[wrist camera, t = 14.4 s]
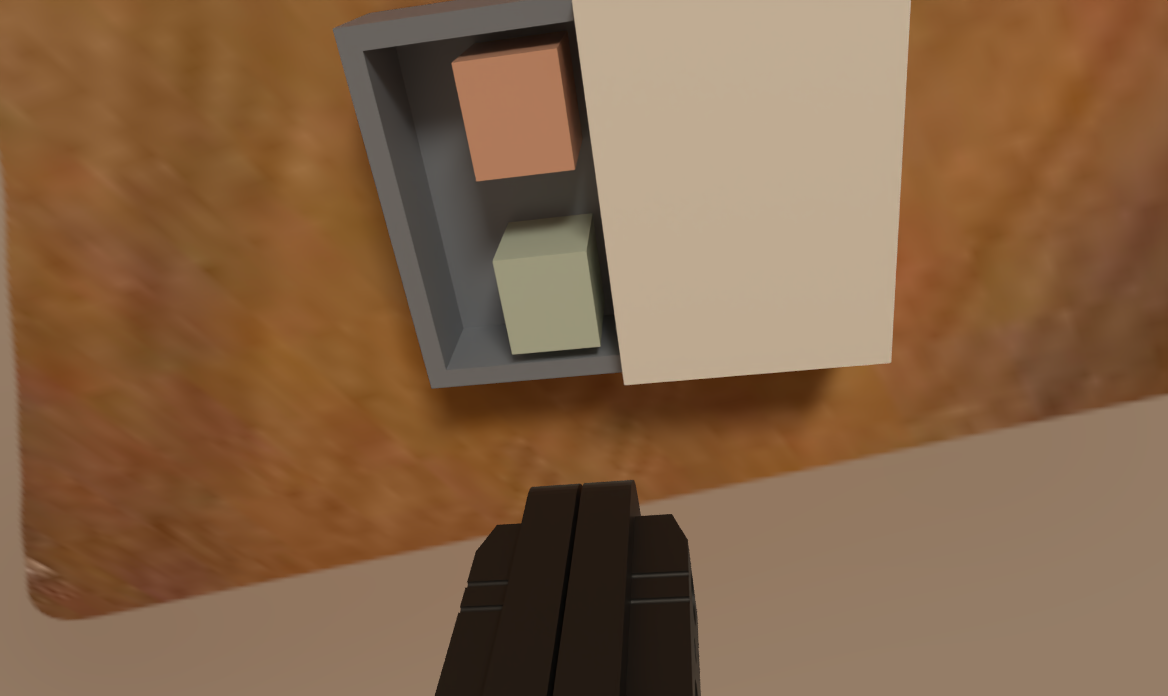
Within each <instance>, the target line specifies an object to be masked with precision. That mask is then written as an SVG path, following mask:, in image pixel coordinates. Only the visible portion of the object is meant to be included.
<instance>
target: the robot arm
mask: <svg viewBox="0 0 1168 696" xmlns="http://www.w3.org/2000/svg"><path fill="white" fill-rule="evenodd" d="M467 582H468V587H467V588H465V592H464V595H463V599H462V602H461V606H460V608H461V611H460V613H458V616H457V620H456V623H455V627H454V630H453V634H452V637H451V641H450V644H449V648H448V651H447V655H446V658H445V662H444V665H443V669H442V672H441V676H440V679H439V683H438V686H437V690H436V693H435V696H701V691H700V668H699V650H698V648H699V643H698V622H697V609H696V602H695V594H694V586H693V578H692V571H691V562H690V555H689V547H688V540H687V538H686V536H685V535H684V533H683V531H682V530H681V528H680V527H679V525H678V524H677V522H676V520H675V519H674V517H673V515H672V514H666V515H650V516H641V514H640V508H639V502H638V495H637V490H636V485H635V482H634V480H625V481H611V482H596V483H584V484H583V486H582V485H581V484H569V485H555V486H540V487H531V489H530V490H529V493H528V497H527V501H526V505H525V510H524V514H523V519H522V523H521V524H504V525H497V526H496V527H495V528H494V530H493V531H492V532H491V533H490V535H489V536H488V537H487V538H486V540H485V541H484V542H483V543H482V545H481V546H480V547H479V548H478V550H477V551H476V553H475V557H474V560H473V564H472V567H471V571H470V574H469V578H468V581H467Z"/></svg>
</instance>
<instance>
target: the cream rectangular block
mask: <svg viewBox="0 0 1168 696" xmlns="http://www.w3.org/2000/svg"><path fill="white" fill-rule="evenodd" d="M572 5H573V13H574V20H575V27H576V35H577V42H578V49H579V57H580V64H581V71H582V79H583V86H584V94H585V101H586V108H587V116H588V123H589V130H590V138H591V145H592V152H593V160H594V167H595V174H596V182H597V189H598V196H599V204H600V211H601V218H602V226H603V233H604V240H605V248H606V255H607V262H608V270H609V277H610V284H611V292H612V299H613V307H614V314H615V321H616V329H617V336H618V343H619V351H620V358H621V365H622V373H623V380H624V385H633V384H645V383H657V382H669V381H681V380H693V379H705V378H717V377H729V376H740V375H752V374H764V373H776V372H788V371H800V370H812V369H824V368H836V367H848V366H860V365H871V364H883V363H891V354H892V335H893V317H894V299H895V280H896V262H897V244H898V225H899V207H900V189H901V170H902V152H903V134H904V115H905V97H906V79H907V60H908V42H909V24H910V5H911V0H572Z"/></svg>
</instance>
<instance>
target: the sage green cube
mask: <svg viewBox="0 0 1168 696" xmlns="http://www.w3.org/2000/svg"><path fill="white" fill-rule="evenodd" d="M493 266H494V271H495V276H496V280H497V285H498V290H499V294H500V299H501V304H502V309H503V313H504V318H505V323H506V328H507V332H508V337H509V342H510V347H511V351H512V355H513V354H524V353H535V352H547V351H558V350H569V349H580V348H591V347H600V346H601V336H602V326H603V315H604V305H605V299H604V292H603V284H602V277H601V270H600V263H599V256H598V249H597V242H596V235H595V228H594V221H593V213H589V214H580V215H571V216H562V217H554V218H545V219H536V220H527V221H518V222H509V223H508V225H507V227H506V230H505V232H504V234H503V237H502V239H501V242H500V244H499V246H498V249H497V251H496V254H495V256H494V259H493Z"/></svg>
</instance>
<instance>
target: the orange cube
mask: <svg viewBox="0 0 1168 696" xmlns="http://www.w3.org/2000/svg"><path fill="white" fill-rule="evenodd" d="M451 64H452V68H453V73H454V78H455V83H456V87H457V92H458V97H459V102H460V106H461V111H462V116H463V120H464V125H465V130H466V135H467V139H468V144H469V149H470V154H471V158H472V163H473V168H474V173H475V177H476V181H485V180H493V179H502V178H510V177H518V176H527V175H535V174H544V173H552V172H561V171H569V170H575V168H576V164H577V160H578V156H579V152H580V148H581V144H582V140H583V138H582V130H581V123H580V116H579V109H578V102H577V95H576V88H575V81H574V74H573V67H572V59H571V52H570V45H569V38H568V31H567V30H565V31H558V32H551V33H544V34H536V35H529V36H522V37H515V38H508V39H501V40H494V41H487V42H480V43H474V44H473V45H472V46H470V47H469V48H468V49H467V50H466V51H465V52H463V53H462V54H461V55H460V56H459V57H458V58H456V59H455V60H454V61H453V62H452V63H451Z"/></svg>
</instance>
